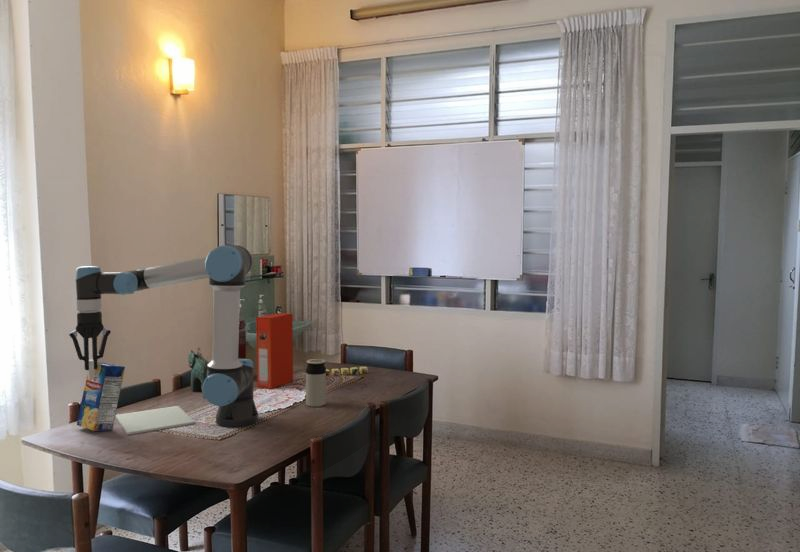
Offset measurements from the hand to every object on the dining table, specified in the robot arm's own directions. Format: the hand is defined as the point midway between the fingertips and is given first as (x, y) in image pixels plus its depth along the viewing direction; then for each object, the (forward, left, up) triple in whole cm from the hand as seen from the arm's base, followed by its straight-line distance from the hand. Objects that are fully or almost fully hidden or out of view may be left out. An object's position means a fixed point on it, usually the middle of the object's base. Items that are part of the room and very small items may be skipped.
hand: (91, 378), depth 203 cm
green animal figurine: (+28, -46, -18) cm, 57 cm away
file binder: (+27, -79, -18) cm, 85 cm away
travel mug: (-13, -80, -18) cm, 83 cm away
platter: (+25, -116, -19) cm, 120 cm away
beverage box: (0, -1, -18) cm, 18 cm away
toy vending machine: (+47, -65, -18) cm, 82 cm away
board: (0, -20, -18) cm, 27 cm away
